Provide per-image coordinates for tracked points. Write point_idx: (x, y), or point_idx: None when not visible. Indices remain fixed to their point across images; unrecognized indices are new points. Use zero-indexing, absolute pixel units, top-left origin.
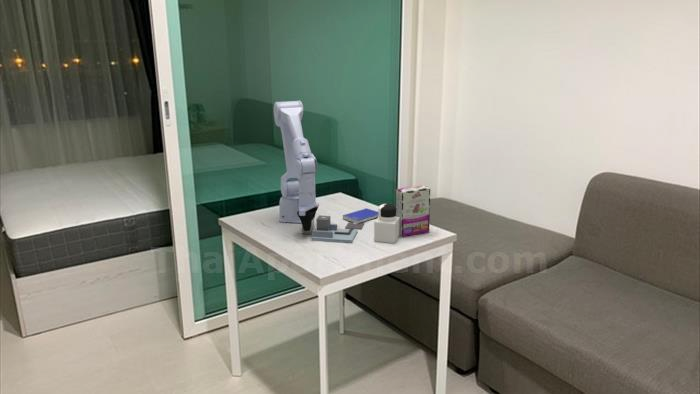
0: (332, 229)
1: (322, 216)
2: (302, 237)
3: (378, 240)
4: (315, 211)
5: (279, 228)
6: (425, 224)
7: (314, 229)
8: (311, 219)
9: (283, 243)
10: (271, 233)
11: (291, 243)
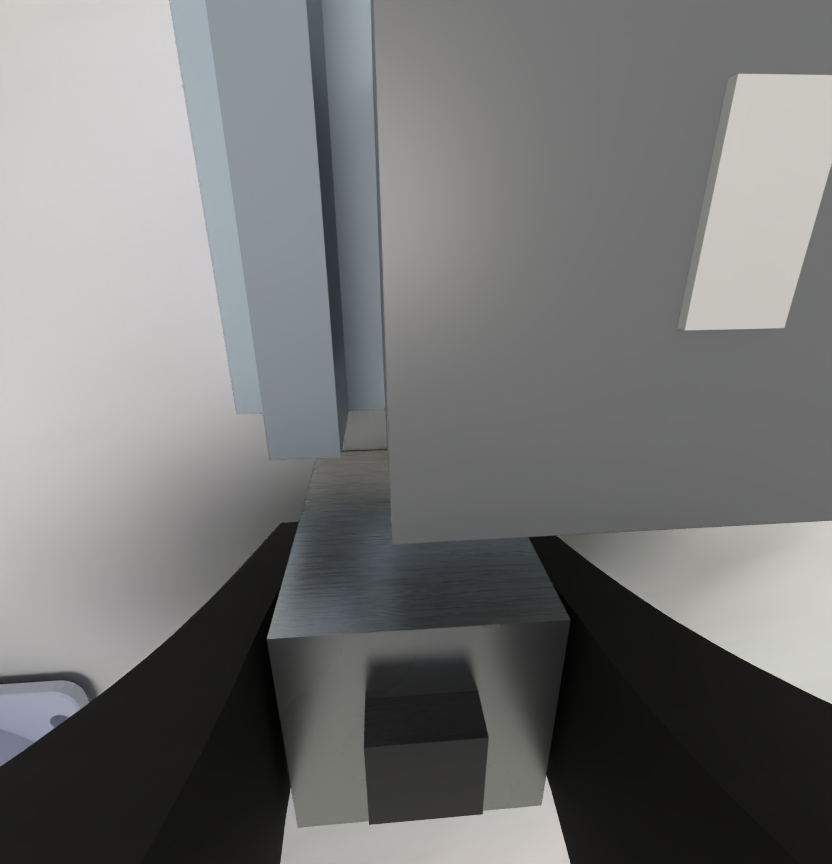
0: (318, 29)
1: (561, 326)
2: (605, 534)
3: None
4: (151, 856)
5: (347, 824)
6: None
7: (317, 462)
8: (452, 652)
9: (790, 661)
10: (504, 831)
11: (803, 590)
